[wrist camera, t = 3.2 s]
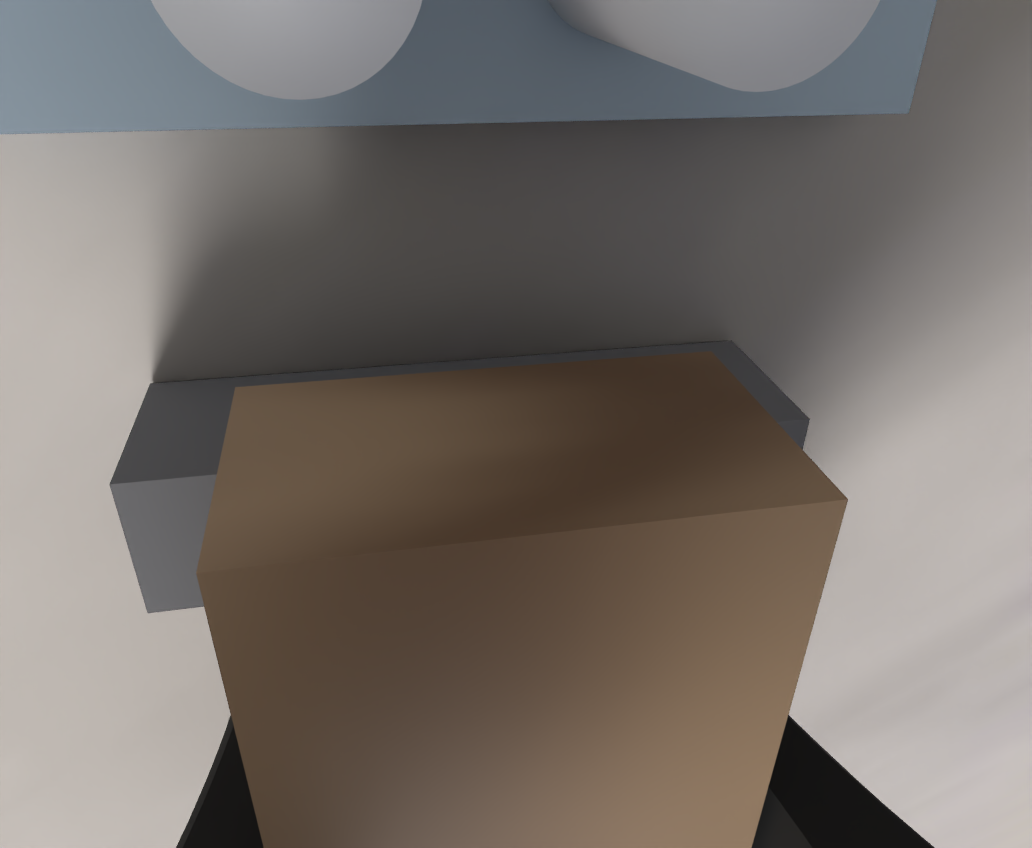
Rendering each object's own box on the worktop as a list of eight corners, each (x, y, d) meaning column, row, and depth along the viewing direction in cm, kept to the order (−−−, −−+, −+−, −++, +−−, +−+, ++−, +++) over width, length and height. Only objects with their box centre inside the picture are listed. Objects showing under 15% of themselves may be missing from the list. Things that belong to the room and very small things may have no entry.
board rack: (731, 340, 10) (809, 418, 9) (662, 756, 15) (706, 864, 13) (149, 383, 9) (109, 485, 7) (258, 824, 13) (248, 952, 12)
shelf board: (712, 351, 8) (848, 499, 6) (626, 910, 13) (682, 1096, 11) (235, 386, 7) (196, 573, 5) (342, 967, 12) (344, 1178, 10)
